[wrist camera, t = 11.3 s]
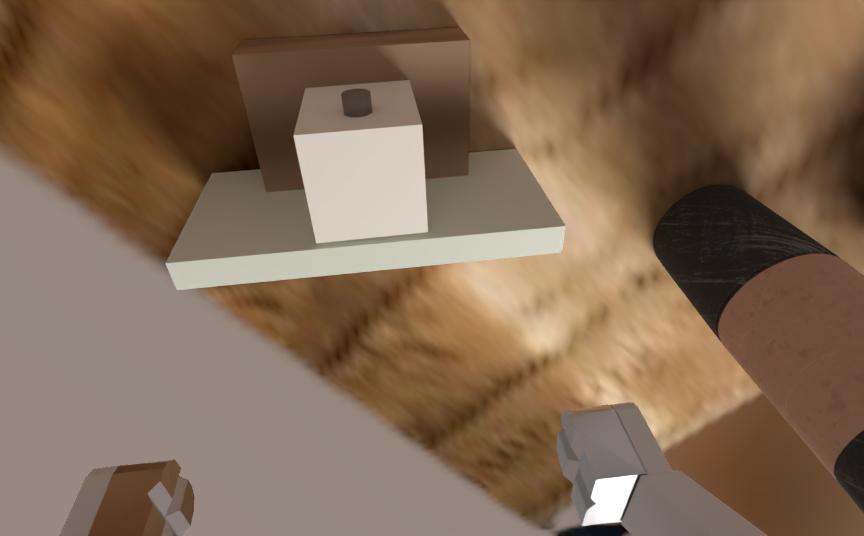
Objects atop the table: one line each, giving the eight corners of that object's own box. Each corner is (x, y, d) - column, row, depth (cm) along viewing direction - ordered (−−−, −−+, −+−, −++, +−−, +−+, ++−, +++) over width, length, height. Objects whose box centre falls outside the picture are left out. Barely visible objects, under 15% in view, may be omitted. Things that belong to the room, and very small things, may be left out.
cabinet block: (302, 70, 24) (289, 115, 19) (408, 62, 24) (421, 104, 19) (323, 182, 27) (316, 243, 23) (415, 173, 28) (428, 232, 23)
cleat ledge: (243, 40, 26) (231, 55, 23) (459, 26, 26) (470, 40, 24) (273, 168, 30) (266, 192, 27) (459, 153, 31) (468, 175, 28)
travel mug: (629, 263, 37) (836, 539, 21) (687, 169, 33) (996, 425, 17) (714, 279, 39) (960, 542, 23) (778, 192, 35) (1130, 441, 19)
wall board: (212, 173, 29) (165, 263, 22) (516, 148, 31) (565, 226, 24) (219, 196, 30) (177, 290, 23) (514, 171, 32) (561, 252, 25)
